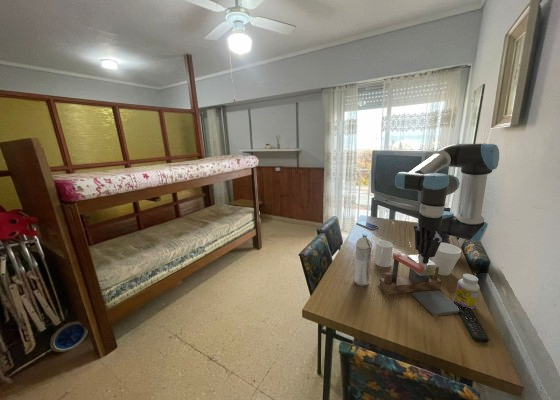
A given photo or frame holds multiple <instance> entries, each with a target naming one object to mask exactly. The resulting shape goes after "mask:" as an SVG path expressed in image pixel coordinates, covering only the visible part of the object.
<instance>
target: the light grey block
mask: <svg viewBox="0 0 560 400" xmlns="http://www.w3.org/2000/svg"><path fill="white" fill-rule="evenodd" d="M418 257H419V253H418V254H409V255H407V256H406V258H407V259H409V260H411V261H413V262H415V263H417V264H418V263H419V259H418ZM436 265H437V264H435V263H434V262H432V259H429V261H428V264H427V268H426V270H424V272H421V273H418V272H417V271H415V270H413V269H412V270H413V271H414V272H416V273H417V274H418V275H419V276H425V275H435V271H436Z"/></svg>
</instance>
